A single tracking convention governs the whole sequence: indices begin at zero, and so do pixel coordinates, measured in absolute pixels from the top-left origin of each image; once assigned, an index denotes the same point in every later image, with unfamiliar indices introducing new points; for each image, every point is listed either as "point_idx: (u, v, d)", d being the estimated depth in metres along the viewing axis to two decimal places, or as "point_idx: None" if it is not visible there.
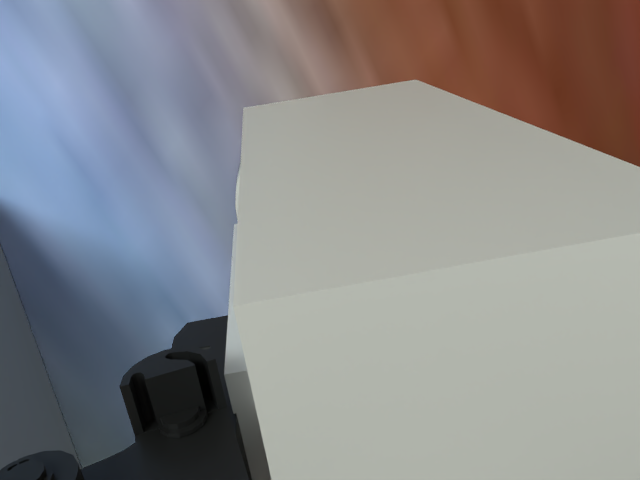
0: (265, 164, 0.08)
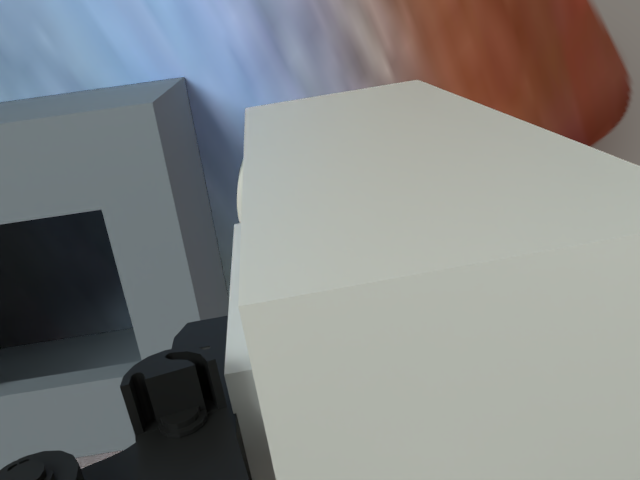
0: (268, 164, 0.08)
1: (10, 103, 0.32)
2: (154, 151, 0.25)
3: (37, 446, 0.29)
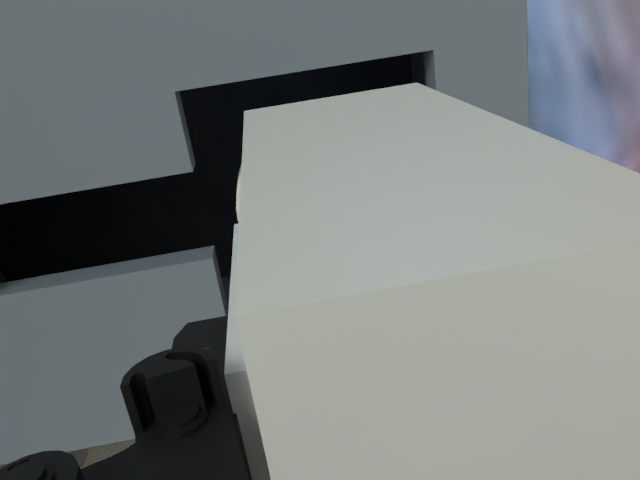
0: (266, 169, 0.08)
1: None
2: None
3: None
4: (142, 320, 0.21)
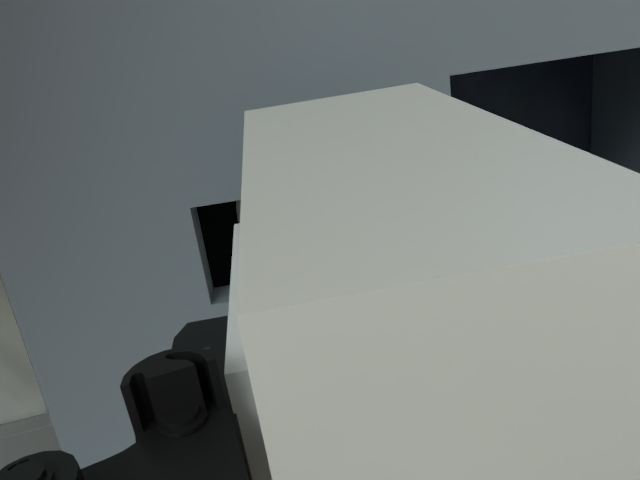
0: (267, 169, 0.08)
1: None
2: None
3: None
4: None
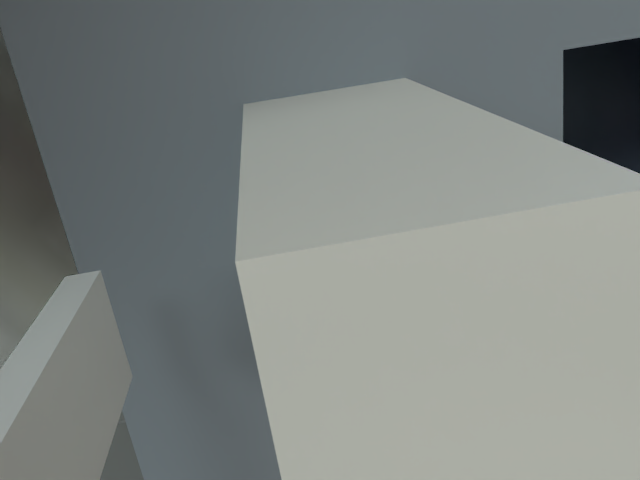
0: (263, 153, 0.09)
1: None
2: None
3: None
4: None
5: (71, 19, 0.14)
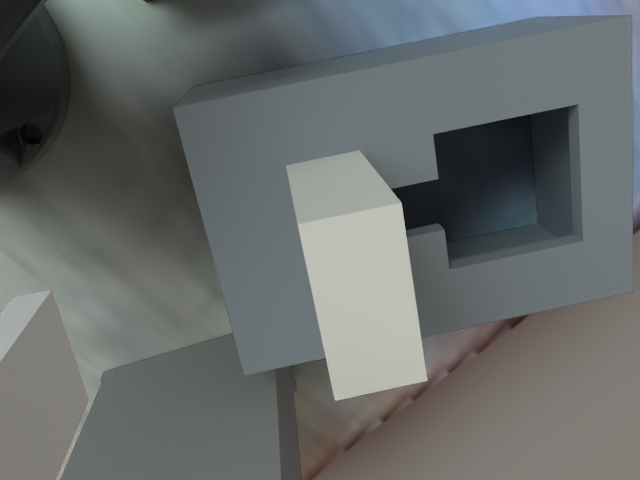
0: (299, 192, 0.27)
1: (415, 43, 0.40)
2: (625, 55, 0.32)
3: (491, 307, 0.36)
4: None
5: (210, 133, 0.31)
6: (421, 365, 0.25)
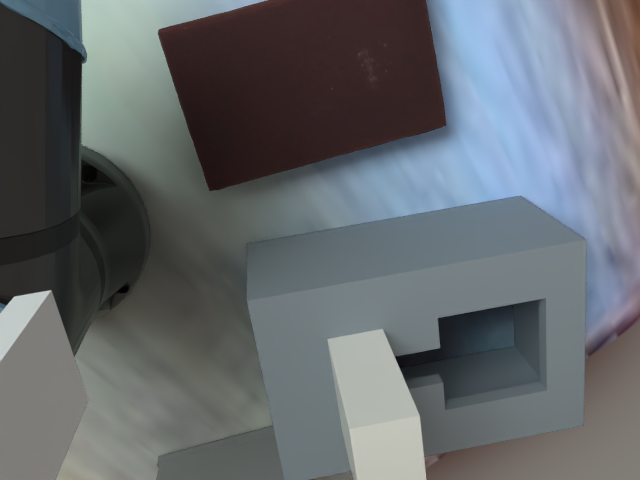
0: (344, 384, 0.38)
1: (424, 219, 0.51)
2: (581, 265, 0.43)
3: (475, 436, 0.47)
4: None
5: (273, 317, 0.42)
6: None
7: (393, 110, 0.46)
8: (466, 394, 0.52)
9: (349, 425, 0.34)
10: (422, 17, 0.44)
